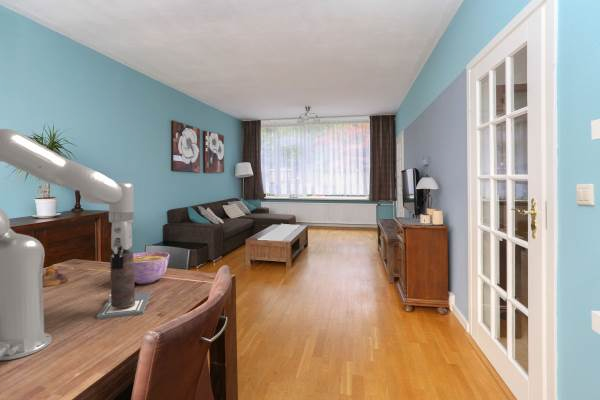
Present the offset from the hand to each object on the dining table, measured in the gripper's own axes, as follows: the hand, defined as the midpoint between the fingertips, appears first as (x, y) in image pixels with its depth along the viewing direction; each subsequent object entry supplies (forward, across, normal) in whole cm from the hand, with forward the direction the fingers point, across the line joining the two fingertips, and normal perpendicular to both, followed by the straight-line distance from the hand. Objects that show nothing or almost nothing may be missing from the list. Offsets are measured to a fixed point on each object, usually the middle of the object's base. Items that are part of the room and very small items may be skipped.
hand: (121, 265), depth 108 cm
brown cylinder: (+16, +1, -1) cm, 16 cm away
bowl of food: (+16, +33, -4) cm, 37 cm away
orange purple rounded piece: (+17, +43, +36) cm, 58 cm away
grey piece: (+16, +5, -1) cm, 17 cm away
